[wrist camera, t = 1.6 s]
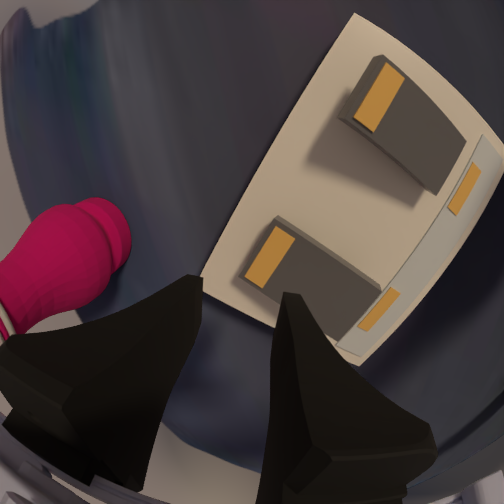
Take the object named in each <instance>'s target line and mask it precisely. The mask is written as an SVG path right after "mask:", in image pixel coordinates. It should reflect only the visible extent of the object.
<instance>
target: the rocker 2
mask: <svg viewBox="0 0 504 504" xmlns="http://www.w3.org/2000/svg"><path fill="white" fill-rule="evenodd" d="M336 118H338V119H339V120H341V121H342V122H344V123H345V124H346V125H348V126H349V127H351V128H352V129H353V130H355V131H356V132H358V133H359V134H360V135H362V136H363V137H364V138H366V139H367V140H368V141H369V142H371V143H372V144H373V145H375V146H376V147H377V148H378V149H380V150H381V151H382V152H383V153H385V154H386V155H387V156H388V157H389V158H391V159H392V160H393V161H394V162H395V163H397V164H398V165H399V166H400V167H401V168H402V169H403V170H405V171H406V172H407V173H408V174H409V175H410V176H411V177H412V178H413V179H415V180H416V181H417V182H418V183H419V184H420V185H421V186H422V187H423V188H424V189H425V190H426V191H428V192H430V193H431V194H433V195H435V196H437V194H438V193H439V191H440V189H441V188H442V186H443V184H444V183H445V181H446V179H447V177H448V176H449V174H450V172H451V170H452V169H453V167H454V165H455V163H456V161H457V159H458V158H459V156H460V154H461V152H462V150H463V148H464V146H465V144H466V142H467V141H466V140H465V138H464V137H463V136H462V135H461V133H460V132H459V131H458V129H457V128H456V127H455V126H454V125H453V123H452V122H451V121H450V120H449V119H448V117H447V116H446V115H445V114H444V113H443V112H442V111H441V109H440V108H439V107H438V106H437V105H436V104H435V103H434V102H433V101H432V100H431V98H430V97H429V96H428V95H427V94H426V93H425V92H424V91H423V90H422V89H421V88H420V87H419V86H418V85H417V84H416V83H415V82H414V81H413V80H412V79H410V78H409V77H408V76H407V75H406V74H405V73H404V72H403V71H402V70H401V69H400V68H398V67H397V66H396V65H395V64H394V63H393V62H392V61H390V60H389V59H388V58H387V57H386V56H384V55H383V54H382V55H378V56H374V57H373V58H372V60H371V61H370V63H369V65H368V66H367V68H366V70H365V71H364V73H363V74H362V76H361V78H360V79H359V81H358V83H357V84H356V86H355V88H354V89H353V91H352V93H351V94H350V96H349V98H348V99H347V101H346V103H345V104H344V106H343V107H342V109H341V111H340V112H339V114H338V116H337V117H336Z"/></svg>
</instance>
